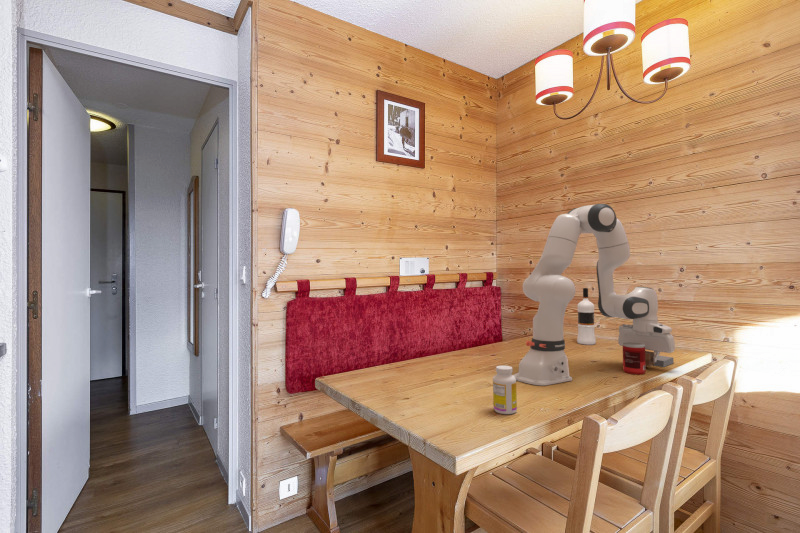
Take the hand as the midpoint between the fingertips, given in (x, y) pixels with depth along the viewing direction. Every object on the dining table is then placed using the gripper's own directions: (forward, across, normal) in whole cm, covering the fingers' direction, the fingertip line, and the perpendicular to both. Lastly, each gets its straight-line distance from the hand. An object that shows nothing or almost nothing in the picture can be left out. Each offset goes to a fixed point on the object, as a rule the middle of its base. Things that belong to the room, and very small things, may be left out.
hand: (645, 360), depth 163 cm
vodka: (+3, -42, +31) cm, 52 cm away
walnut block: (+2, 0, 0) cm, 2 cm away
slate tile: (+3, -1, +12) cm, 12 cm away
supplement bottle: (+5, -4, -83) cm, 84 cm away
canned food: (+4, 0, -10) cm, 11 cm away
